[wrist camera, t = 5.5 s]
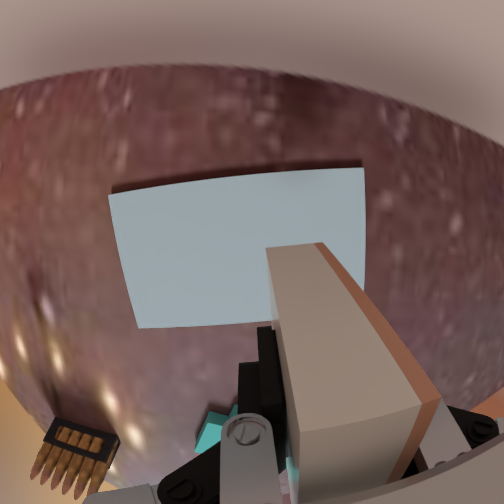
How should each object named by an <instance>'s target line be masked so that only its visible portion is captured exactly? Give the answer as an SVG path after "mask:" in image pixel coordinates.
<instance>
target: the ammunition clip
mask: <svg viewBox="0 0 504 504" xmlns="http://www.w3.org/2000/svg"><path fill="white" fill-rule="evenodd" d="M43 441H44V443H43V445H42V447H41V449H40V451H39V452H38V455H37V458H36V461H35V463H34V465H33V468H32V470H31V475H30V478H31V480H33V479H34V478H36V477H37V475H38V474H39V473H40V471H41V469H42V468H43V466H44V465H45V463H46V465H45V467H44V470H43V472H42V475H41V480H40V483H41V485H43V484H45V483H46V482H47V481H48V479H49V478H50V476H51V474H52V472H53V471H54V469H55V468H56V470H55V473H54V475H53V478H52V482H51V490H54V489H55V488H56V487H57V486H58V485H59V483H60V482H61V480H62V478H63V476H64V474H65V472H66V471H67V474H66V477H65V480H64V482H63V486H62V494H63V495H65V494H66V493H67V492H68V491H69V490H70V488H71V486H72V484H73V482H74V481H75V479H76V477H77V476H78V474H79V477H78V480H77V484H76V486H75V490H74V499H75V500H77V499H78V498H79V497H80V496H81V494H82V493H83V491H84V489H85V487H86V485H87V483H88V481H89V479H90V478H91V482H90V486H89V489H88V492H87V497H88V496H89V495H90V494H93V493H97V492H98V490H99V488H100V486H101V484H102V482H103V481H104V478H105V475H106V473H107V470H108V469H109V468H110V466H111V464H112V461H113V459H114V457H115V454H116V452H117V450H118V448H119V445H120V441H119V438H118V436H117V435H113V434H109V433H105V432H102V431H98V430H95V429H91V428H88V427H84V426H81V425H78V424H75V423H72V422H69V421H66V420H63V419H60V418H57V417H55V418H54V420H53V422H52V424H51V426H50V428H49V430H48V432H47V433H46V435H45V437H44V439H43Z"/></svg>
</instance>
